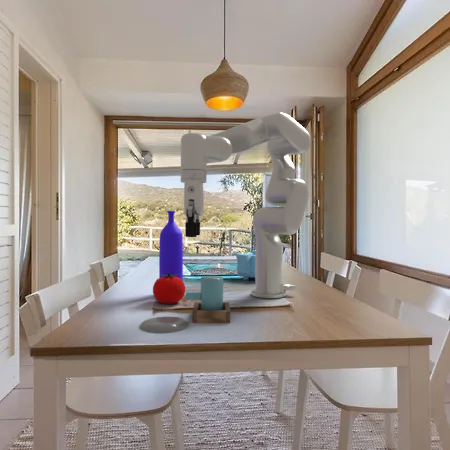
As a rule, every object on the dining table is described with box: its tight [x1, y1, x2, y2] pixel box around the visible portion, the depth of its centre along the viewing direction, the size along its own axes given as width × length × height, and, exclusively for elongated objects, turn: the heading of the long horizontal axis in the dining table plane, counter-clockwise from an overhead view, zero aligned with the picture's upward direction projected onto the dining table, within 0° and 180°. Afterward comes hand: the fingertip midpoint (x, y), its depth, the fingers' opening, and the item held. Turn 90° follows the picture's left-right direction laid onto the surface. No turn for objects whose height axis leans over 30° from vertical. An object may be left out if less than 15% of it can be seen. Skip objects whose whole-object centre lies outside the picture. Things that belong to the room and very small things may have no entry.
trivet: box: [140, 316, 189, 334], centre depth 94 cm, size 12×12×1 cm
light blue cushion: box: [232, 249, 256, 281], centre depth 165 cm, size 18×16×13 cm
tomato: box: [152, 273, 186, 305], centre depth 118 cm, size 10×10×10 cm
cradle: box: [191, 301, 231, 324], centre depth 102 cm, size 10×10×4 cm
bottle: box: [158, 210, 184, 282], centre depth 131 cm, size 8×8×30 cm
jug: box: [185, 275, 224, 310], centre depth 101 cm, size 10×6×11 cm, turn 91°
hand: (192, 236), depth 107 cm, fingers open, 9 cm apart
